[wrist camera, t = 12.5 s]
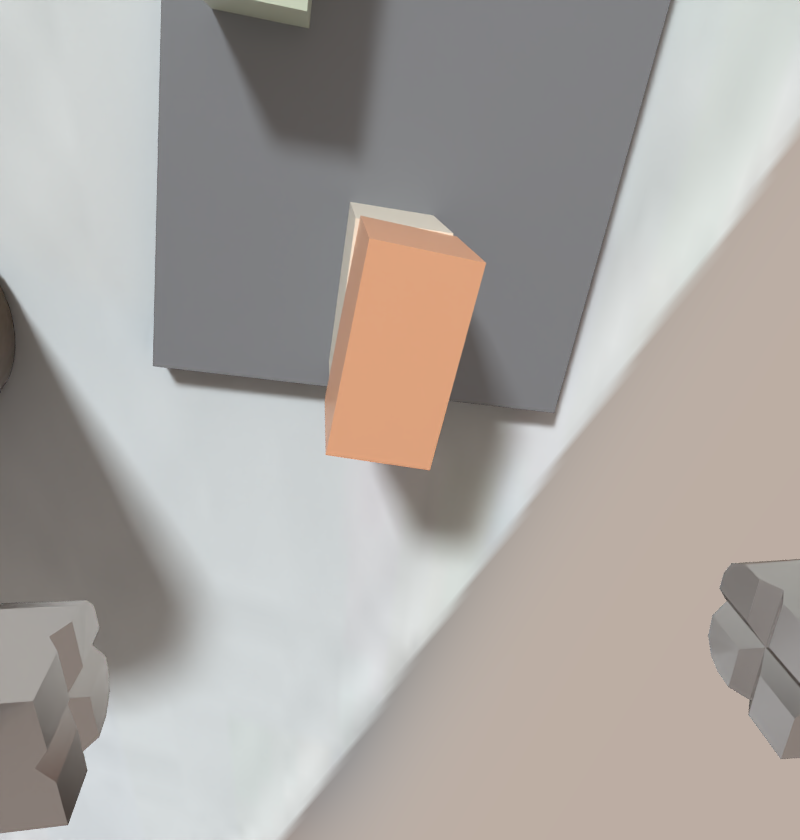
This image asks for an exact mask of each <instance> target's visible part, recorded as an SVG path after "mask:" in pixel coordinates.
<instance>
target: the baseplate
mask: <svg viewBox="0 0 800 840" xmlns="http://www.w3.org/2000/svg"><path fill="white" fill-rule="evenodd" d="M670 1H671V0H312V5H311V15H310V25H309V28H304V27H299V26H294V25H289V24H284V23H279V22H274V21H270V20H265V19H260V18H255V17H250V16H245V15H240V14H235V13H230V12H225V11H221V10H216V9H212V8H211V7H210V6H209V5H208V4H206V3H205V2H204V1H203V0H161V39H160V82H159V125H158V168H157V211H156V254H155V297H154V340H153V366H156V367H165V368H173V369H182V370H190V371H199V372H208V373H216V374H225V375H233V376H242V377H251V378H259V379H268V380H276V381H285V382H293V383H302V384H311V385H319V386H327V385H328V380H329V358H330V350H331V343H332V335H333V328H334V320H335V313H336V305H337V297H338V290H339V282H340V275H341V267H342V260H343V252H344V245H345V237H346V230H347V222H348V215H349V207H350V202H354V203H360V204H367V205H373V206H379V207H385V208H391V209H397V210H403V211H409V212H416V213H422V214H428V215H433V216H435V217H436V218H437V219H438V220H439V221H440V222H441V223H442V224H443V225H445V226H446V227H447V228H448V229H449V230H450V231H451V232H452V233H453V236H457V237H458V238H459V239H460V240H461V241H462V242H464V243H465V244H466V245H467V246H468V247H469V248H470V249H471V250H472V251H474V252H475V253H476V254H477V255H478V256H479V257H480V258H481V259H482V260H484V261H485V262H486V266H485V269H484V273H483V277H482V280H481V284H480V288H479V291H478V295H477V299H476V302H475V306H474V310H473V313H472V317H471V321H470V324H469V328H468V332H467V335H466V339H465V343H464V347H463V350H462V354H461V358H460V361H459V365H458V369H457V372H456V376H455V380H454V383H453V387H452V391H451V394H450V398H449V401H457V402H465V403H474V404H482V405H491V406H499V407H508V408H517V409H525V410H534V411H542V412H551V413H554V412H555V408H556V405H557V401H558V398H559V394H560V390H561V387H562V383H563V380H564V376H565V373H566V369H567V366H568V362H569V359H570V355H571V352H572V348H573V344H574V341H575V337H576V334H577V330H578V327H579V323H580V320H581V316H582V313H583V309H584V305H585V302H586V298H587V295H588V291H589V288H590V284H591V281H592V277H593V274H594V270H595V266H596V263H597V259H598V256H599V252H600V249H601V245H602V242H603V238H604V235H605V231H606V228H607V224H608V220H609V217H610V213H611V210H612V206H613V203H614V199H615V196H616V192H617V189H618V185H619V181H620V178H621V174H622V171H623V167H624V164H625V160H626V157H627V153H628V150H629V146H630V143H631V139H632V135H633V132H634V128H635V125H636V121H637V118H638V114H639V111H640V107H641V104H642V100H643V96H644V93H645V89H646V86H647V82H648V79H649V75H650V72H651V68H652V65H653V61H654V57H655V54H656V50H657V47H658V43H659V40H660V36H661V33H662V29H663V26H664V22H665V19H666V15H667V11H668V8H669V4H670Z"/></svg>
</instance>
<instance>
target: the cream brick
mask: <svg viewBox="0 0 800 840" xmlns="http://www.w3.org/2000/svg"><path fill="white" fill-rule="evenodd" d="M360 216H365V217H370V218H374V219H379V220H383V221H388V222H393V223H397V224H402V225H406V226H411V227H416V228H420V229H425V230H429V231H434V232H438V233H443V234H448V235H452V236H453V233H452V232H451V231H450V230H449V229H448V228H447V227H446V226H445V225H443V224H442V223H441V222H440V221H439V220H438V219H437V218H436V217H435V216H433V215H428V214H422V213H416V212H409V211H403V210H397V209H391V208H385V207H379V206H373V205H367V204H360V203H354V202H350V207H349V215H348V222H347V230H346V237H345V245H344V252H343V260H342V267H341V275H340V282H339V290H338V297H337V305H336V313H335V320H334V328H333V335H332V343H331V350H330V358H329V375H330V370H331V365H332V360H333V354H334V349H335V344H336V339H337V334H338V329H339V323H340V318H341V313H342V308H343V303H344V298H345V292H346V287H347V282H348V277H349V272H350V267H351V262H352V256H353V251H354V246H355V241H356V236H357V231H358V225H359V220H360Z"/></svg>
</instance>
